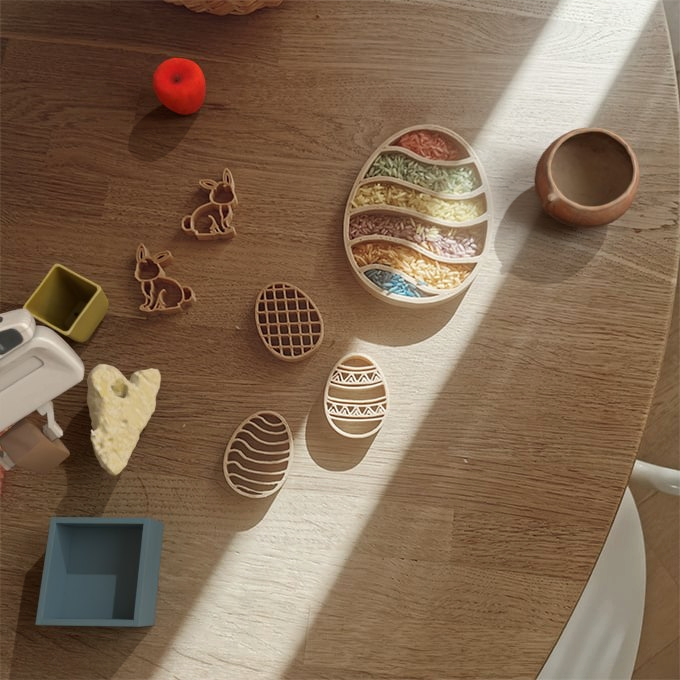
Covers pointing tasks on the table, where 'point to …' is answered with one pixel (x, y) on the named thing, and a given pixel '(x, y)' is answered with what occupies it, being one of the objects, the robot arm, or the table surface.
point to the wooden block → (32, 447)
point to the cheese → (119, 412)
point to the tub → (100, 572)
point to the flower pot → (68, 303)
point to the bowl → (587, 178)
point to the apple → (180, 85)
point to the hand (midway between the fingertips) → (36, 450)
